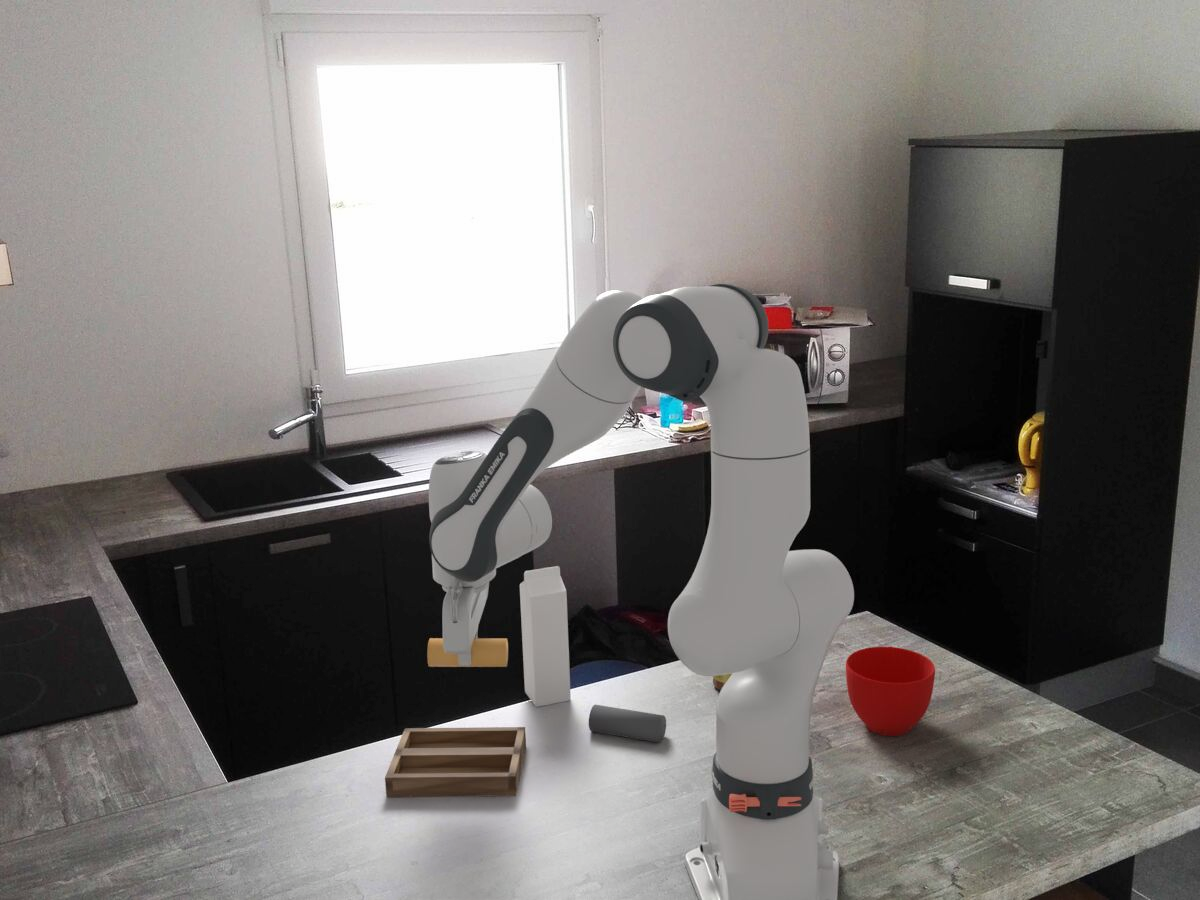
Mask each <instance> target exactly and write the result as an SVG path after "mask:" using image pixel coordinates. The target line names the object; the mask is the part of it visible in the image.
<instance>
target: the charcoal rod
mask: <svg viewBox="0 0 1200 900" xmlns="http://www.w3.org/2000/svg"><path fill="white" fill-rule="evenodd" d="M588 716H589V717H588V729H589V731H590V732H594V733H600V734H607V735H613V736H619V737H624V738H631V739H636V740H642V741H647V742H648V741H649V742H655V743H660V744H661V742H662V741H663V740H664V738H665V735H666V732H667V731H666V730H667V719H666V716H665V715H664V714H657V713H651V712H645V711H638V710H633V709H632V710H631V709H625V708H620V707H615V706H614V707H613V706H606V705H601V704H594V705H592V707H591V709H590V711H589V715H588Z"/></svg>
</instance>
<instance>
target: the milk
mask: <svg viewBox="0 0 1200 900" xmlns="http://www.w3.org/2000/svg"><path fill="white" fill-rule="evenodd" d="M560 567H561V566H559V565H556V566H551V567H542V568H538V569H531V570H525V571H524V573H523V581H522V582H520V584H519V598H520V601H519V602H520V617H521V619H520V620H521V636H522V637H521V641H522V656H523V657H522V661H523V679H524V693H525V694H526V695H527V697H528V698H529V700H530V701H531V702H532V704H533V705H534V707H535V708H539V707H543V706H549V705H554V704H558V703H559V704H560V703H564V702H568V701H571V700H572V699H571V676H570V675H571V673H570V671H571V670H570V650H569V649H570V648H569V627H568V626H569V623H568V622H569V621H568V599H567V595H568V594H567V588H566V586H565V584H564V582H563V578H562V576H561V568H560Z"/></svg>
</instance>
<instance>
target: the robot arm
mask: <svg viewBox="0 0 1200 900" xmlns="http://www.w3.org/2000/svg"><path fill="white" fill-rule="evenodd" d="M764 307H765V306H764V305H763V304H762V302H761V301H760V300H759V299H758V297H757V296H756V295H755V294H753V293H752V292H750V291H749V290H747V289H745V288H744V287H740V286H738V285H732V284H727V283H726V284H725V283H715V284H711V285H707V286H705V285H704V286H683V287H678V288H674V289H671V290H669V291H665V292H662V293H657V294H652V295H648V296H646V297H642V296H640V295H638V294H636V293H634V292H631V291H627V290H617V289H614V290H609V291H606V292H603V293H601V294H600V295H598V296H597V297H596V298H594V300H592V302H591V303H590V304H589V305H588V306H587V308H585V310H584V311H583V312H582V314H581V315H580V316H579V317H578V318H577V320H576V321H575V323H574V324H573V325H572V327H571V328H570V330H569V331H568V333H567V334H566V336H565V338H564V339H563V341H562V342H561V344H560V346H559V347H558V349H557V351H556V352H555V355H554V356H553V357H552V360H551V362H550V363H549V365H548V367H547V369H546V370H545V372H544V373H543V375H542V376H541V378H540V380H539V381H538V383H537V385H536V386H535V387H534V389H533V391H532V392H531V394H530V395H529V397H528V398H527V400H526V401H525V402H524V404H523V405H522V407H520V409H519V411H518V412H517V414H516V415H515V416H514V417H513V418H512V420H511V422H510V423H509V424H508V426H507V427H506V428H505V429H504V431H503V432H502V433H501V435H500V436H499V437H498V438H497V440H496V442H495V443H494V445H493V446H492V447H491V449H490V450H489V452H488V453H487V454H486V453H484V452H483V451H482V452H481V451H475V450H472V451H471V450H469V451H461V452H458V453H457V452H456V453H452V454H449V455H446V456H444V457H440V458H439V459H437V460H436V461H435V462H434V463H433V464H432V467H431V470H430V473H429V474H430V475H429V483H428V507H429V508H428V509H429V510H428V511H429V513H428V514H429V520H430V523H431V525H430V528H429V529H430V530H429V536H428V539H429V548H430V552H431V565H432V566H431V567H432V579H433V580H434V581H435V582H436V583H437V584H439V585H441V586H442V587H441V588H442V590H443V591H444V592H446V593H445V596H444V598H443V602H442V611H441V612H442V613H441V614H442V616H441V617H442V620H441V621H442V625H441V626H442V638H443V648H444V651H445V652H446V653H449V654H458V663H459V665H461V666H469V665H470V664H471V662H472V650H471V647H472V643H473V640H474V638H478V631H479V624H480V621H481V619H482V615H483V612H484V609H485V606H486V602H487V600H488V596H489V587H490V582H491V581H492V580H493V579H494V578H495V577H496V575H497V569H498V568H500V567H502V566H504V565H506V564H508V563H511V562H512V561H514V560H516V559H519V558H521V557H522V556H523V555H526V554H528V553H530V552H532V551H534V550H535V549H537V548H539V547H541V546H542V545H544V544H545V543H546V542H548V540H549V539H550V537H551V535H552V533H553V527H554V515H553V514H554V513H553V510H552V509H553V508H552V505H551V503H550V502H549V501H550V500H549V499H548V498H547V496H546V495H545V493H544V492H543V491H542V490H541V489H540V488H538V487H537V486H535V485H534V484H532V483H533V481H534V480H535V479H536V478H537V477H538V476H539V475H540V474H541V473H542V472H543V471H545V470H546V469H547V468H549V467H551V466H552V465H554V464H555V463H557V462H558V461H560V460H561V459H564V458H565V457H567V456H569V455H570V454H573V453H574V452H577V451H578V450H580V449H584V447H586V446H588V445H591V444H592V443H594V442H596V441H598V440H600V439H601V438H603V437H604V436H605V435H606V434H608V432H609V431H610V430H611V429H612V428H613V427H614V426H615V425H616V424H617V423H618V422H619V421H620V420H621V419H622V418H623V417H624V415H625V413H626V412H627V411H628V409H629V407H630V406H631V405H632V402H633V401H634V400H635V398H636V396H637V395H638V393H639V391H640V389H641V388H644V389H647V390H649V391H652V392H653V391H654V392H657V393H661V394H665V395H666V396H667V395H668V396H669V397H672V398H674V399H676V400H679V401H681V402H685V403H689V402H690V403H691V402H692V401H695V400H697V399H698V398H700V399H701V400H702V401H703V403H704V404H705V406H706V408H707V411H708V415H709V423H710V464H711V465H710V467H711V468H710V469H711V470H710V472H711V477H710V478H711V482H710V483H711V484H710V485H711V487H710V488H711V491H710V493H711V496H710V497H711V498H710V499H711V504H710V515H709V523H708V527H707V533H706V536H705V539H704V544H703V546H702V549H701V553H700V556H699V558H698V561H697V563H696V566H695V568H694V571H693V572H692V575H691V577H690V579H689V581H688V582H687V584H686V585H685V587H684V588H683V590H682V591H681V593H680V594H679V595H678V597H677V598H676V599H675V600H674V602H672V605H671V606H670V609H669V611H668V618H667V635H668V639H669V642H670V645H671V647H672V648H671V649H672V650H673V652H674V653H675V655H676V657H677V658H678V660H679V661H680V662H681V663H682V664H683V665H684V666H685V667H686V668H687V669H688V670H689V671H691V672H693V673H694V674H696V675H698V676H701V677H702V676H703V677H713V676H717V675H725V674H731V673H732V675H731V676H730V678H729V679H728V680H727V682H726V683H725V684H724V686H723V688H722V689H721V691H720V690H719V691H720V692H719V694H718V697H717V700H716V706H715V719H716V720H715V730H716V732H715V733H716V734H715V735H716V737H715V738H716V739H715V741H716V742H715V743H716V744H715V746H716V747H715V748H716V749H715V753H714V754H713V757H712V765H711V778H712V789H711V790H710V791H709V793H708V794H707V795H705V797H703V799H701V800H700V817H699V819H700V820H699V822H700V824H699V846H698V847H695V848H693V849H691V850H689V851H688V852H687V853H686V854H685V856H684V857H685V859H684V865H685V868H686V870H687V873H688V876H689V878H690V880H691V883H692V885H693V889H694V891H695V893H696V896H697V899H698V900H838V894H839V892H838V891H839V877H840V876H839V875H840V858H839V854H838V853H837V852H836V851H835V850H833V849H830V848H829V846H828V844H826V843H825V844H824V843H822V835H828V832H829V822H826V821H823V799H822V798H821V797H820V796H818V795H817V794H815V792H814V780H815V778H814V769H813V761H812V759H811V757H810V736H811V735H810V734H811V715H812V706H813V699H814V694H815V691H816V687H817V684H818V681H819V676H820V674H821V671H822V668H823V666H824V665H823V664H824V662H825V659H826V656H827V653H828V651H829V649H830V646H831V644H832V641H833V640H834V637H835V636H836V634H837V632H838V631H839V629H840V627H841V626H842V624H843V622H844V621H846V619H847V618H848V616H849V615H850V613H851V611H852V609H853V606H854V601H855V590H854V589H855V588H854V584H853V580H852V578H851V576H850V574H849V573H850V572H848V570H847V568H846V567H845V565H844V564H843V562H842V561H841V560H840V559H839V558H838V557H837V556H835V555H834V554H832V553H831V552H829V551H826V550H824V549H823V550H822V549H815V548H814V549H813V548H812V549H795V550H790V548H791V546H792V544H793V542H794V540H795V539H796V537H797V535H798V534H799V533H800V531H801V530H802V529H803V528H804V526H805V525H806V523H807V521H808V518H809V516H810V511H811V444H810V423H809V413H808V404H807V399H806V398H807V397H806V394H805V387H804V383H803V379H802V374H801V371H800V368H799V366H798V364H797V363H796V362H795V360H794V359H793V358H791V357H790V356H788V355H787V354H786V353H785V354H784V353H782V352H781V351H777V350H775V349H774V350H773V349H771V348H770V349H769V348H765V346H766V343H767V341H768V337H769V329H770V328H769V319H768V316H767V315H768V314H767V312H766V310H765V308H764Z"/></svg>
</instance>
